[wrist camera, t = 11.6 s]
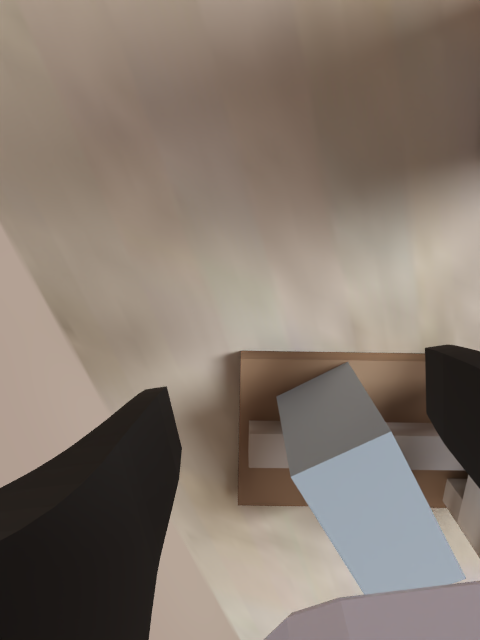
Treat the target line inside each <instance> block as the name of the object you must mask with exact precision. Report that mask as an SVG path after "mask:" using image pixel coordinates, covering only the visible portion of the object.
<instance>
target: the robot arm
mask: <svg viewBox="0 0 480 640" xmlns="http://www.w3.org/2000/svg"><path fill="white" fill-rule="evenodd" d="M425 372H426V414H427V415H428V417H429V419H430V421H431V423H432V424H433V426H434V428H435V430H436V431H437V433H438V435H439V436H440V438H441V440H442V441H443V443H444V444H445V446H446V447H447V448H448V449H449V451H450V452H451V453H452V455H453V456H454V457H455V458H456V460H457V461H458V462H459V463H460V465H461V466H462V467H463V469H464V470H465V471H466V472H467V474H468V475H469V476H470V477H471V478H472V480H473V481H474V482H475V483H476V485H477V486H478V487H479V488H480V351H476V350H472V349H468V348H464V347H460V346H455V345H442V346H435V347H428V348H425ZM181 450H182V447H181V443H180V439H179V435H178V431H177V427H176V423H175V419H174V415H173V410H172V406H171V402H170V398H169V394H168V390H167V386H166V387H160V388H153V389H146V390H144V391H142V392H141V393H139V394H138V395H137V396H135V397H134V398H133V399H131V400H130V401H129V402H128V403H126V404H125V405H124V406H123V407H122V408H120V409H119V410H118V411H117V412H115V413H114V414H113V415H112V416H111V417H109V418H108V419H107V420H106V421H104V422H103V423H102V424H101V425H99V426H98V427H97V428H95V429H94V430H93V431H91V432H90V433H89V434H87V435H86V436H85V437H83V438H82V439H81V440H79V441H78V442H77V443H75V444H74V445H72V446H71V447H70V448H68V449H67V450H65V451H64V452H62V453H61V454H59V455H58V456H56V457H55V458H53V459H52V460H50V461H48V462H46V463H45V464H43V465H42V466H40V467H38V468H37V469H35V470H33V471H31V472H30V473H28V474H26V475H24V476H22V477H20V478H18V479H17V480H15V481H13V482H11V483H9V484H7V485H5V486H3V487H2V488H0V640H148V639H149V631H150V623H151V614H152V606H153V599H154V592H155V585H156V577H157V571H158V566H159V561H160V556H161V552H162V548H163V543H164V539H165V535H166V531H167V527H168V523H169V519H170V515H171V510H172V506H173V502H174V498H175V494H176V489H177V485H178V480H179V472H180V462H181ZM264 640H480V581H474V582H465V583H457V584H449V585H440V586H432V587H424V588H416V589H407V590H399V591H391V592H382V593H374V594H366V595H358V596H349V597H341V598H336V599H333V600H330V601H327V602H324V603H321V604H318V605H315V606H312V607H308V608H305V609H302V610H299V611H296V612H293V613H291V614H290V615H289V616H288V617H287V618H286V619H285V620H284V621H283V622H282V623H281V624H280V625H279V626H277V627H276V628H275V629H274V630H273V631H272V632H271V633H270V634H269V635H268V636H267V637H266V638H265V639H264Z"/></svg>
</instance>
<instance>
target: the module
mask: <svg viewBox="0 0 480 640" xmlns="http://www.w3.org/2000/svg"><path fill="white" fill-rule="evenodd" d="M276 398H277V403H278V409H279V415H280V420H281V426H282V431H283V437H284V443H285V448H286V454H287V460H288V465H289V471H290V476H291V478H292V480H293V482H294V483H295V485H296V486H297V488H298V490H299V491H300V493H301V494H302V496H303V498H304V499H305V501H306V502H307V504H308V505H309V507H310V509H311V510H312V512H313V513H314V515H315V517H316V518H317V520H318V521H319V523H320V525H321V526H322V528H323V529H324V531H325V533H326V534H327V536H328V537H329V539H330V541H331V542H332V544H333V545H334V547H335V549H336V550H337V552H338V553H339V555H340V557H341V558H342V560H343V561H344V563H345V565H346V566H347V568H348V569H349V571H350V572H351V574H352V576H353V577H354V579H355V580H356V582H357V584H358V585H359V587H360V588H361V590H362V592H363V593H364V595H366V594H374V593H382V592H391V591H399V590H407V589H416V588H424V587H432V586H440V585H449V584H453V583H456V582H458V581H461V580H463V579H466V577H465V575H464V573H463V571H462V569H461V567H460V565H459V563H458V561H457V559H456V557H455V556H454V554H453V552H452V550H451V548H450V546H449V544H448V542H447V540H446V538H445V536H444V534H443V532H442V530H441V528H440V526H439V524H438V522H437V520H436V518H435V516H434V514H433V512H432V510H431V508H430V506H429V504H428V503H427V501H426V499H425V497H424V495H423V493H422V491H421V489H420V487H419V485H418V483H417V481H416V479H415V477H414V475H413V473H412V471H411V469H410V467H409V465H408V463H407V461H406V459H405V457H404V455H403V453H402V451H401V449H400V448H399V446H398V444H397V442H396V440H395V438H394V436H393V434H392V432H391V430H390V429H389V427H388V425H387V424H386V422H385V421H384V419H383V417H382V416H381V414H380V412H379V411H378V409H377V408H376V406H375V404H374V403H373V401H372V400H371V398H370V396H369V395H368V393H367V392H366V390H365V388H364V387H363V385H362V384H361V382H360V380H359V379H358V377H357V376H356V374H355V372H354V371H353V369H352V367H351V366H350V364H349V363H348V362H346V363H344V364H342V365H340V366H338V367H336V368H334V369H332V370H330V371H328V372H326V373H324V374H322V375H319V376H317V377H315V378H313V379H311V380H309V381H307V382H305V383H303V384H301V385H299V386H297V387H295V388H293V389H291V390H289V391H287V392H285V393H283V394H281V395H279V396H277V397H276Z"/></svg>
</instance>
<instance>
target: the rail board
mask: <svg viewBox="0 0 480 640" xmlns="http://www.w3.org/2000/svg"><path fill="white" fill-rule="evenodd" d="M346 362H348V363H349V364H350V366H351V367H352V369H353V371H354V372H355V374H356V376H357V377H358V379H359V380H360V382H361V384H362V385H363V387H364V388H365V390H366V392H367V393H368V395H369V396H370V398H371V400H372V401H373V403H374V404H375V406H376V408H377V409H378V411H379V412H380V414H381V416H382V417H383V419H384V421H385V422H386V424H387V425H388V427H389V429H390V430H391V432H392V434H393V436H394V438H395V440H396V442H397V444H398V446H399V448H400V449H401V451H402V453H403V455H404V457H405V459H406V461H407V463H408V465H409V467H410V469H411V471H412V473H413V475H414V477H415V479H416V481H417V483H418V485H419V487H420V489H421V491H422V493H423V495H424V497H425V499H426V501H427V503H428V504H429V506H430V508H448V510H449V512H450V513H451V515H452V516H453V518H454V519H455V521H456V522H457V524H458V525H459V527H460V529H461V530H462V532H463V533H464V535H465V536H466V538H467V539H468V541H469V542H470V544H471V545H472V547H473V549H474V550H475V552H476V553H477V555H478V556H479V558H480V488H479V487H478V486H477V485H476V483H475V482H474V481H473V480H472V478H471V477H470V476H469V475H468V474H467V472H466V471H465V470H464V469H463V467H462V466H461V465H460V463H459V462H458V461H457V460H456V458H455V457H454V456H453V455H452V453H451V452H450V451H449V449H448V448H447V447H446V446H445V444H444V443H443V441H442V440H441V438H440V436H439V435H438V433H437V431H436V430H435V428H434V426H433V424H432V423H431V421H430V419H429V417H428V415H427V414H426V372H425V354H412V353H345V352H279V351H241V364H240V416H239V468H238V505H259V506H309V505H308V504H307V502H306V501H305V499H304V498H303V496H302V494H301V493H300V491H299V490H298V488H297V486H296V485H295V483H294V482H293V480H292V478H291V476H290V471H289V465H288V460H287V454H286V448H285V443H284V437H283V431H282V426H281V420H280V415H279V409H278V403H277V398H276V397H277V396H279V395H281V394H283V393H285V392H287V391H289V390H291V389H293V388H295V387H297V386H299V385H301V384H303V383H305V382H307V381H309V380H311V379H313V378H315V377H317V376H319V375H322V374H324V373H326V372H328V371H330V370H332V369H334V368H336V367H338V366H340V365H342V364H344V363H346Z"/></svg>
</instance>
